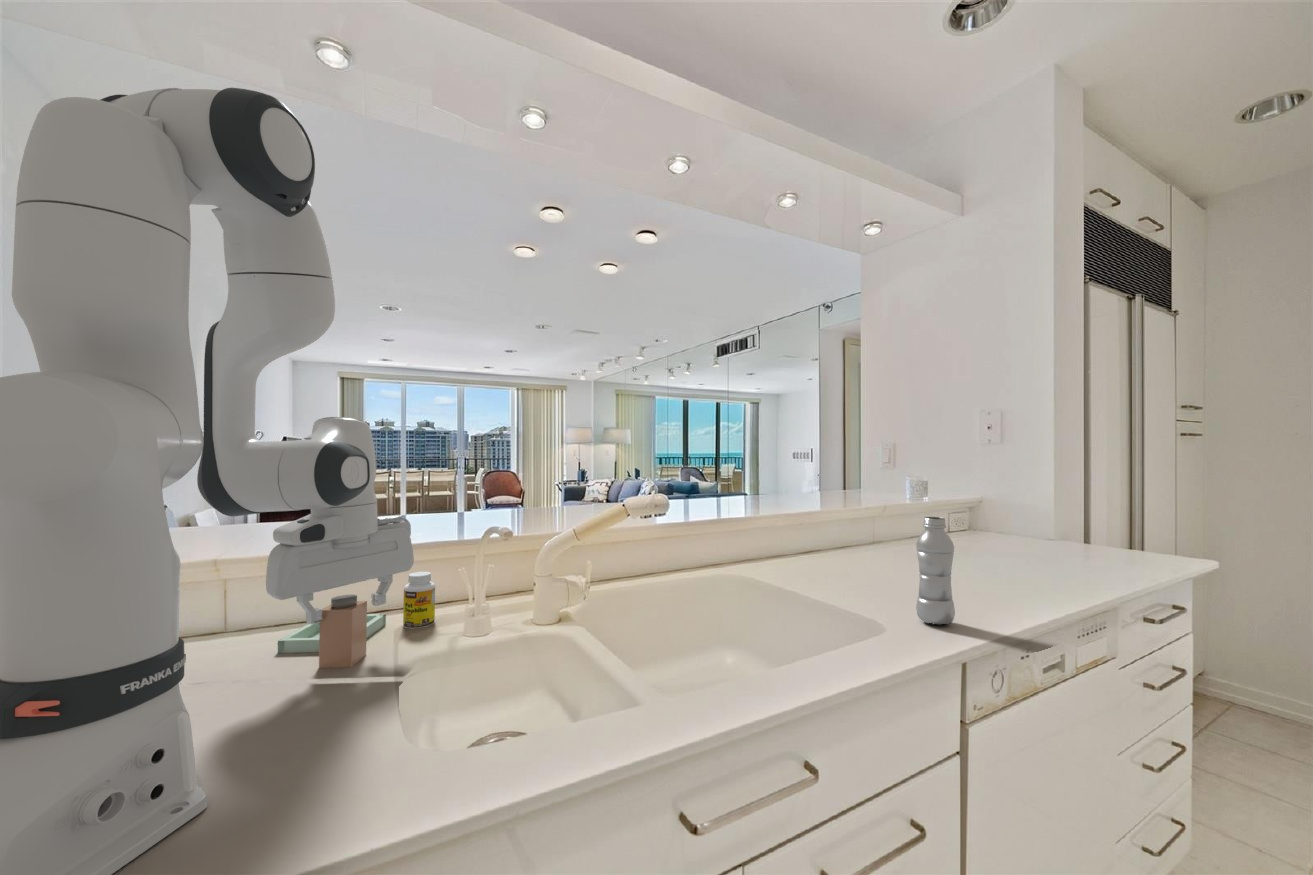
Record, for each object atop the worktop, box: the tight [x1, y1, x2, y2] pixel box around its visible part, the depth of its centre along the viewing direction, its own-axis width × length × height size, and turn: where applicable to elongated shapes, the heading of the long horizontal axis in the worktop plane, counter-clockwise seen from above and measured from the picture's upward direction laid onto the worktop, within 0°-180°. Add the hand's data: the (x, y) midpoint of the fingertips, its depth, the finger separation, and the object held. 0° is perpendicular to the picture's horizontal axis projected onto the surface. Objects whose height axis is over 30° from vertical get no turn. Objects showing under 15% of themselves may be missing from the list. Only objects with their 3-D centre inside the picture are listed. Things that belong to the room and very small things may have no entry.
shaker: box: [318, 594, 368, 669], centre depth 80 cm, size 5×5×10 cm
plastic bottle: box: [915, 516, 956, 625], centre depth 100 cm, size 6×7×20 cm
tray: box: [277, 613, 387, 654], centre depth 90 cm, size 13×11×2 cm
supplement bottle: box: [402, 571, 436, 629], centre depth 97 cm, size 5×5×10 cm
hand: (348, 613), depth 81 cm, fingers open, 8 cm apart
